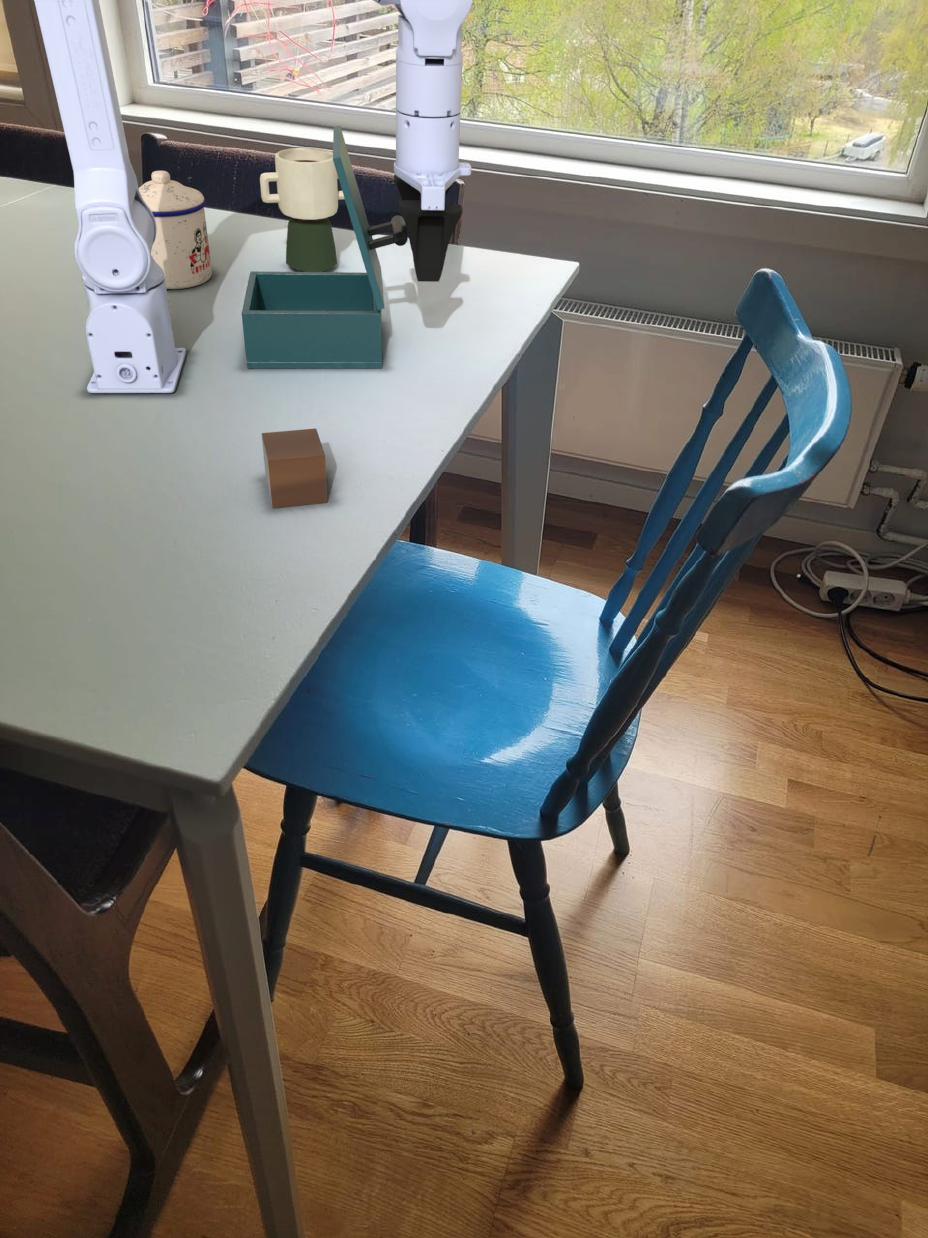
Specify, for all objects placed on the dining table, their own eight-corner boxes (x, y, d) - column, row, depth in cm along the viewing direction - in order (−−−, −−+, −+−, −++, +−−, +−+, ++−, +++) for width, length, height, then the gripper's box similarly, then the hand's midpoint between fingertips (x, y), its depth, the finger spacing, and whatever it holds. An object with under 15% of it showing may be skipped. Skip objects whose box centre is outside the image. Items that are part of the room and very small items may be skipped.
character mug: (348, 255, 122) (345, 145, 114) (362, 275, 117) (359, 160, 109) (262, 261, 119) (252, 148, 111) (272, 281, 114) (263, 164, 106)
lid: (332, 157, 84) (381, 144, 84) (333, 127, 93) (378, 114, 93) (377, 310, 93) (422, 298, 93) (374, 269, 102) (415, 258, 102)
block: (327, 502, 77) (325, 454, 74) (272, 508, 76) (267, 459, 73) (319, 475, 80) (316, 427, 78) (266, 480, 79) (261, 432, 77)
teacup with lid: (210, 291, 111) (197, 184, 104) (129, 290, 110) (110, 182, 103) (220, 256, 120) (208, 155, 113) (145, 255, 119) (129, 154, 112)
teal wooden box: (247, 368, 96) (241, 312, 92) (255, 323, 104) (250, 270, 101) (381, 368, 97) (381, 313, 93) (378, 324, 106) (378, 272, 102)
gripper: (483, 131, 79) (474, 293, 88) (464, 94, 91) (458, 241, 99) (397, 129, 79) (397, 293, 87) (389, 92, 90) (390, 240, 98)
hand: (425, 266), depth 93 cm, fingers open, 7 cm apart
